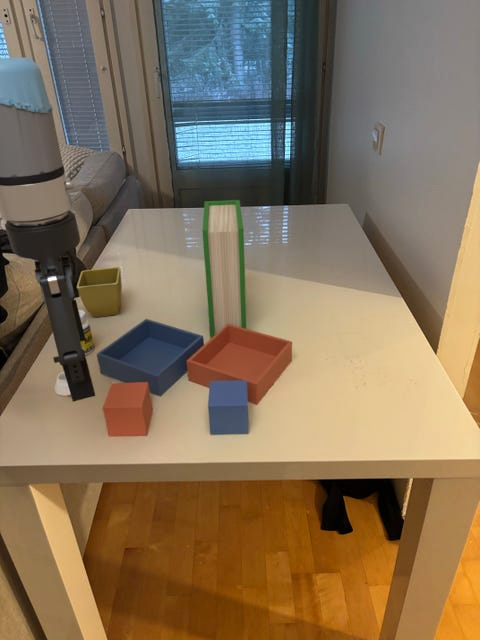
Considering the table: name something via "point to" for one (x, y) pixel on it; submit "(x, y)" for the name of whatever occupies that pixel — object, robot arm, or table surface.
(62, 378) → the lidless jar
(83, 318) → the supplement bottle
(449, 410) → the table surface
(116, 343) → the slate bin
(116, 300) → the flower pot
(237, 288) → the hardback book
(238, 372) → the rust bin
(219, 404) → the slate block
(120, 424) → the rust block
